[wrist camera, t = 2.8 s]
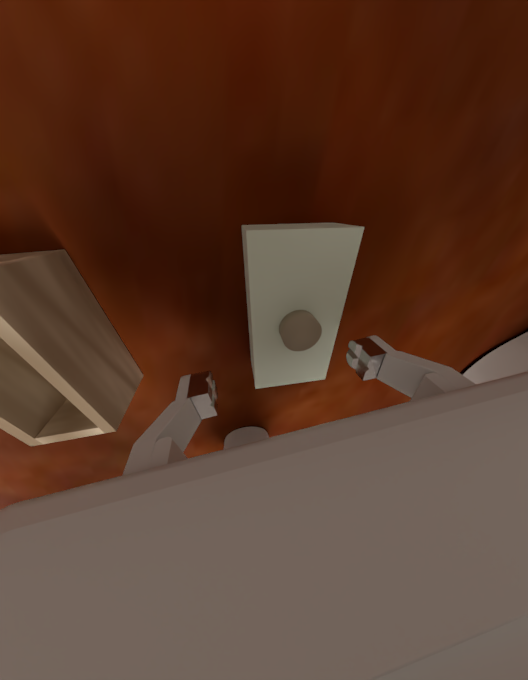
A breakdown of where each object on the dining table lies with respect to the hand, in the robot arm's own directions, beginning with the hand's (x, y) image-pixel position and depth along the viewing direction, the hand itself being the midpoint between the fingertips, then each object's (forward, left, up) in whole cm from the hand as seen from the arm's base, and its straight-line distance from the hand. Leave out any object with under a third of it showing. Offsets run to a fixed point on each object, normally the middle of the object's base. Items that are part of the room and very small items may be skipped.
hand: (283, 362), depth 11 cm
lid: (-1, -1, -6) cm, 6 cm away
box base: (+14, -1, -5) cm, 15 cm away
